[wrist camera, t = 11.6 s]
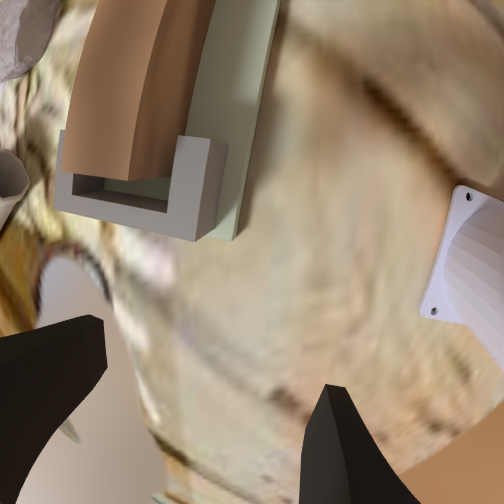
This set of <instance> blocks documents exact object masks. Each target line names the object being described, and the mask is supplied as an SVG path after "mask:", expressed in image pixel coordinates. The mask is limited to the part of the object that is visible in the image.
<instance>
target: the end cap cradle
mask: <svg viewBox="0 0 504 504" xmlns="http://www.w3.org/2000/svg"><path fill="white" fill-rule="evenodd" d="M280 3H281V0H216V3H215V6H214V10H213V13H212V17H211V21H210V24H209V28H208V32H207V36H206V39H205V43H204V47H203V51H202V56H201V60H200V64H199V68H198V73H197V77H196V82H195V86H194V91H193V96H192V101H191V106H190V111H189V116H188V121H187V127H186V132H185V136H180V135H178V139H177V145H176V151H175V157H174V164H173V171H172V176H171V177H159V178H149V179H139V180H130V181H126V180H119V179H112V178H105V177H98V176H90V175H83V174H75V173H67V172H61V162H62V152H63V144H64V137H65V130H61V131H60V138H59V145H58V154H57V164H56V175H55V191H54V209H55V210H59V211H64V212H68V213H72V214H76V215H81V216H85V217H89V218H94V219H98V220H102V221H106V222H111V223H115V224H119V225H124V226H128V227H132V228H137V229H141V230H145V231H149V232H154V233H158V234H162V235H167V236H171V237H175V238H180V239H184V240H188V241H193V242H195V241H197V240H199V239H200V238H202V237H203V236H207V237H212V238H216V239H221V240H225V241H230V242H232V241H233V240H234V239H235V238H236V233H237V228H238V222H239V216H240V210H241V205H242V199H243V193H244V188H245V182H246V177H247V171H248V165H249V160H250V155H251V149H252V144H253V138H254V133H255V128H256V122H257V117H258V112H259V107H260V101H261V96H262V91H263V86H264V81H265V76H266V71H267V66H268V61H269V56H270V51H271V46H272V41H273V36H274V31H275V26H276V22H277V17H278V12H279V7H280Z"/></svg>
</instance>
